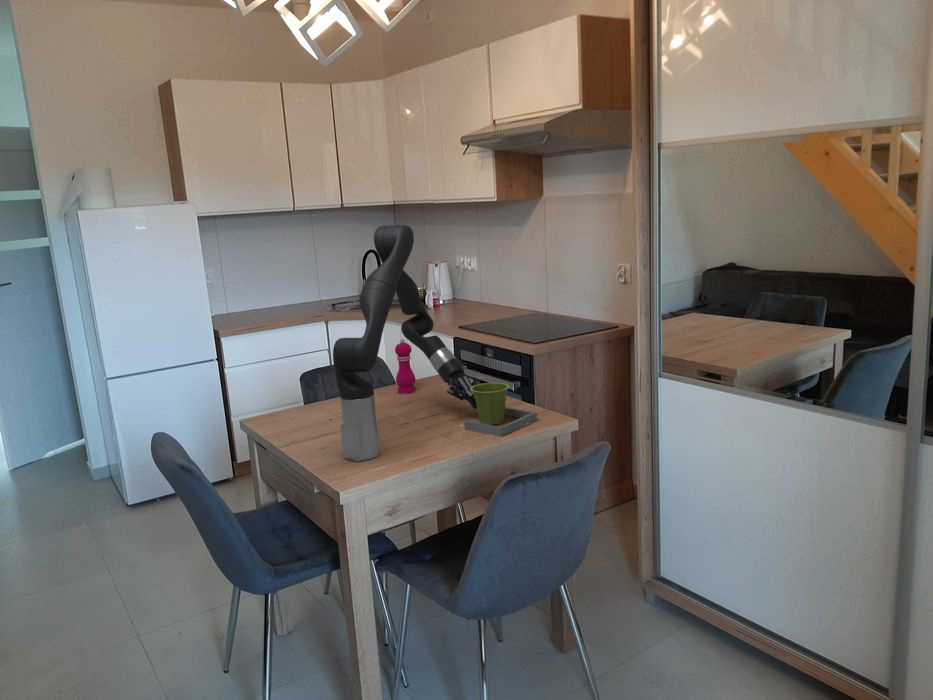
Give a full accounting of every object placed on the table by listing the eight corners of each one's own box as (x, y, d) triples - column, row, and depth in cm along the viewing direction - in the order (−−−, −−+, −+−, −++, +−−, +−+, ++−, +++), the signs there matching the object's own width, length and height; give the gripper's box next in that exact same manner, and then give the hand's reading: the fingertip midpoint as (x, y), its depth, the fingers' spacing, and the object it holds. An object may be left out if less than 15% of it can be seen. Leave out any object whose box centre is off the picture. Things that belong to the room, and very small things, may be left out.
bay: (501, 436, 207) (501, 428, 207) (464, 429, 216) (464, 421, 216) (537, 420, 221) (536, 412, 220) (501, 413, 230) (500, 406, 229)
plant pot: (515, 417, 225) (513, 382, 223) (505, 428, 214) (503, 392, 212) (479, 415, 229) (476, 381, 227) (467, 427, 218) (465, 391, 216)
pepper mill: (413, 394, 260) (409, 340, 256) (394, 394, 262) (389, 340, 258) (418, 389, 267) (414, 336, 263) (400, 389, 269) (395, 337, 265)
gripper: (438, 361, 222) (470, 405, 216) (465, 353, 232) (497, 394, 226) (426, 376, 226) (458, 419, 221) (454, 367, 236) (485, 408, 231)
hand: (478, 407), depth 224 cm, fingers closed
